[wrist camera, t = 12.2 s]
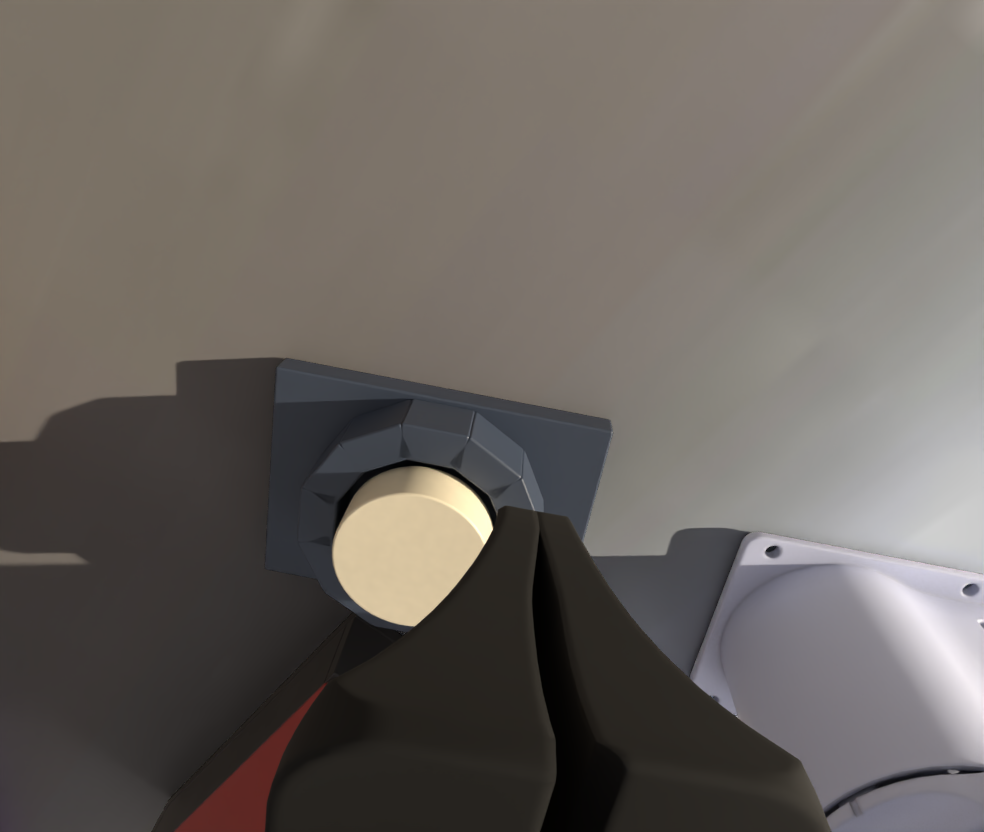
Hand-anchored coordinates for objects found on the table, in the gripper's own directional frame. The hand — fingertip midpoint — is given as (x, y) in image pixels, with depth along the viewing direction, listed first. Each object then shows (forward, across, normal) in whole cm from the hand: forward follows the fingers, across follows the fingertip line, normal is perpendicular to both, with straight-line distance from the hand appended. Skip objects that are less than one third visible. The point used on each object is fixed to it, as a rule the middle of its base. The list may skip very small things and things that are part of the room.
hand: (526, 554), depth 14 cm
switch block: (+10, +2, +5) cm, 12 cm away
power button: (+8, +3, +5) cm, 10 cm away
